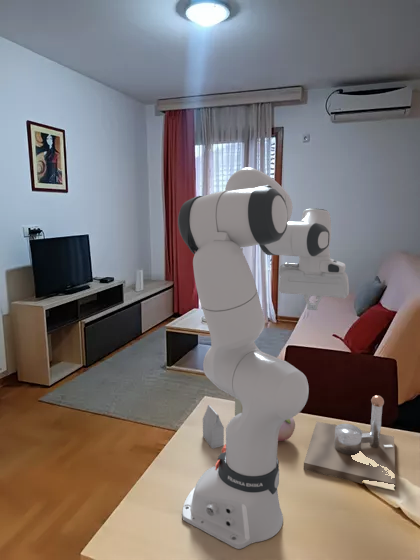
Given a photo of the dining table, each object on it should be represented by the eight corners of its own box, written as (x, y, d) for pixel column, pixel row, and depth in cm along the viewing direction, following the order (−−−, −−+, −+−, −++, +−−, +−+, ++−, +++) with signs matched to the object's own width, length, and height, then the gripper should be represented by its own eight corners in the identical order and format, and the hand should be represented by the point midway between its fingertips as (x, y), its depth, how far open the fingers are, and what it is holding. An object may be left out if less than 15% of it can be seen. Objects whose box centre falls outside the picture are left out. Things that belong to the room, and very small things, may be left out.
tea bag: (212, 448, 117) (211, 416, 115) (202, 436, 123) (202, 405, 121) (223, 445, 118) (223, 413, 116) (214, 433, 124) (213, 403, 122)
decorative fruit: (301, 441, 120) (302, 409, 118) (283, 452, 115) (284, 419, 113) (275, 428, 127) (276, 398, 125) (258, 438, 121) (258, 407, 119)
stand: (303, 469, 107) (303, 462, 107) (316, 427, 127) (316, 421, 127) (395, 491, 99) (395, 484, 98) (393, 442, 119) (394, 436, 118)
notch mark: (384, 447, 113) (384, 446, 113) (383, 445, 114) (383, 444, 114) (393, 447, 113) (393, 446, 113) (391, 445, 114) (391, 444, 114)
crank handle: (341, 455, 109) (344, 405, 106) (330, 441, 116) (332, 393, 113) (386, 451, 111) (390, 401, 108) (372, 436, 118) (376, 389, 115)
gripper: (277, 264, 122) (276, 308, 124) (349, 267, 114) (346, 315, 116) (281, 261, 127) (280, 304, 130) (350, 264, 119) (348, 310, 122)
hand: (312, 309), depth 123 cm, fingers closed
